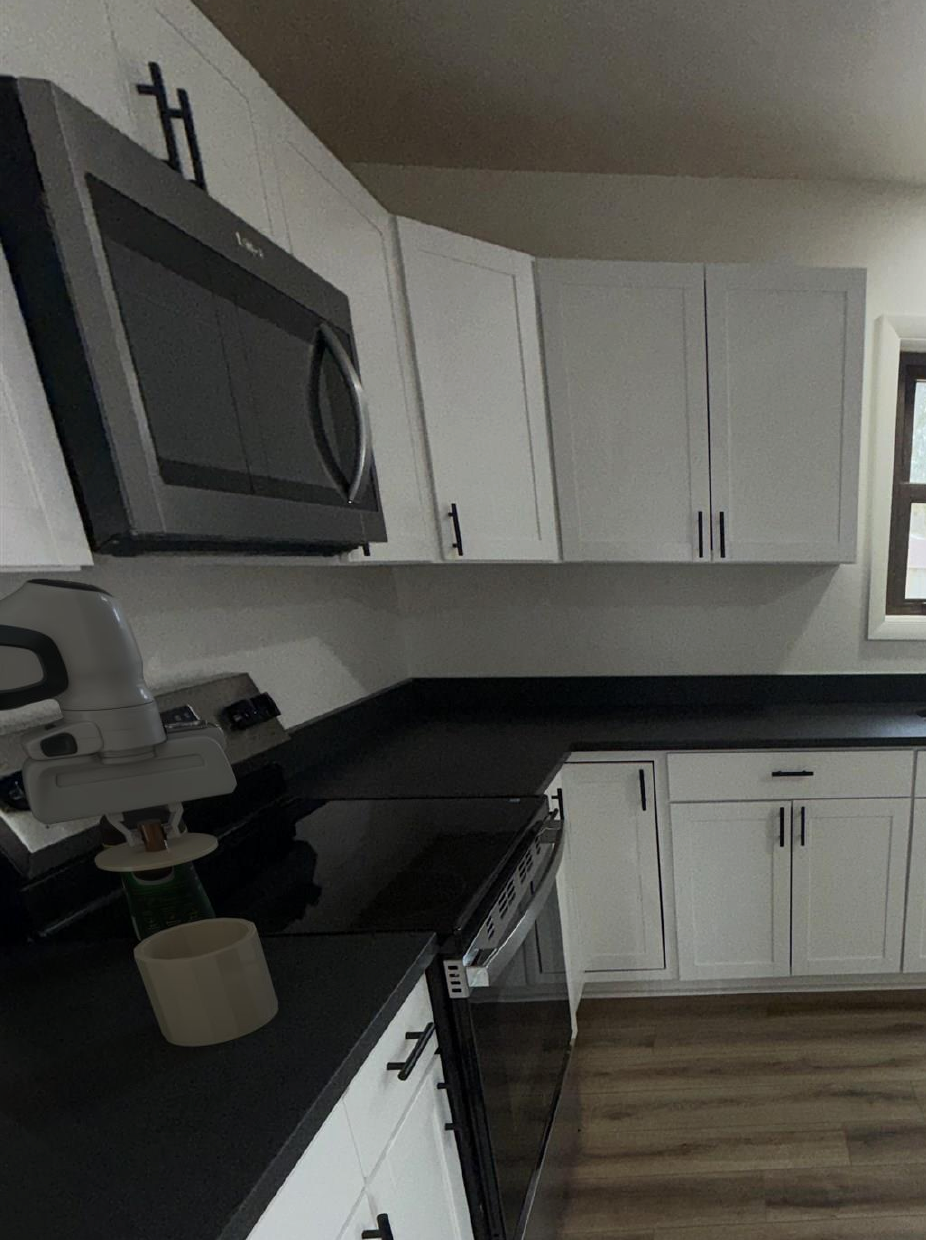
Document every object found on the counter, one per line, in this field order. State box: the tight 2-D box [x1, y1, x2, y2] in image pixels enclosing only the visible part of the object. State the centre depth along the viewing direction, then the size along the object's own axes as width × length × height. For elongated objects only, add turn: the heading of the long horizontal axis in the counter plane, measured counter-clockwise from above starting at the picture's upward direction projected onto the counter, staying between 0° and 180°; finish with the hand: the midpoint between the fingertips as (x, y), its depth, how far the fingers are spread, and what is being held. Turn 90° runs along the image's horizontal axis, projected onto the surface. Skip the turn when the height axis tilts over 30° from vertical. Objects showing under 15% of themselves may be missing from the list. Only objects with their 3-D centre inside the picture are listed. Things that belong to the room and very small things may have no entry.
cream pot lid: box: [93, 819, 219, 872], centre depth 102 cm, size 13×13×5 cm
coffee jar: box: [99, 805, 217, 943], centre depth 116 cm, size 10×8×19 cm
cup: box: [133, 917, 279, 1047], centre depth 96 cm, size 12×12×11 cm
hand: (154, 842), depth 103 cm, fingers closed on cream pot lid, 2 cm apart
